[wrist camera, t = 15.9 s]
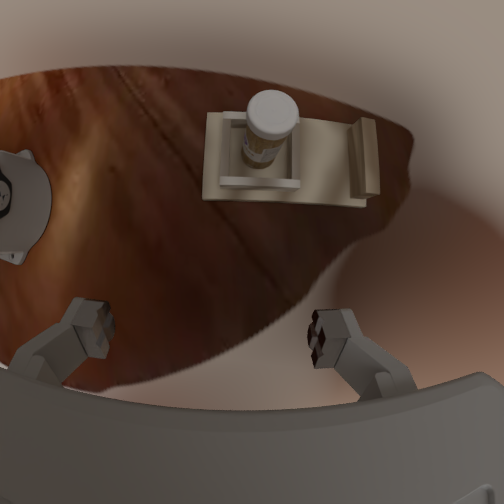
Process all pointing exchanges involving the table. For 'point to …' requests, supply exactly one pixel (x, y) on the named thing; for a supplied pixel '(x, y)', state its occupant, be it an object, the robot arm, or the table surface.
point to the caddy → (294, 163)
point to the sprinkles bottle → (267, 127)
